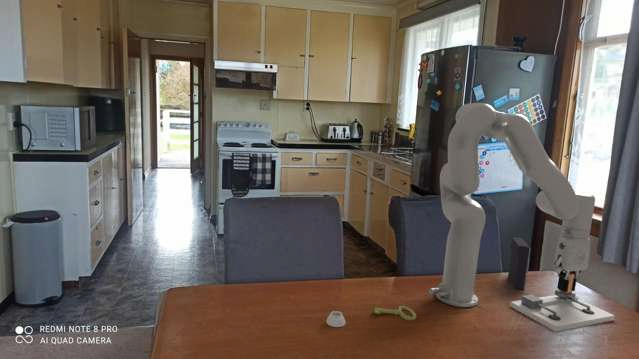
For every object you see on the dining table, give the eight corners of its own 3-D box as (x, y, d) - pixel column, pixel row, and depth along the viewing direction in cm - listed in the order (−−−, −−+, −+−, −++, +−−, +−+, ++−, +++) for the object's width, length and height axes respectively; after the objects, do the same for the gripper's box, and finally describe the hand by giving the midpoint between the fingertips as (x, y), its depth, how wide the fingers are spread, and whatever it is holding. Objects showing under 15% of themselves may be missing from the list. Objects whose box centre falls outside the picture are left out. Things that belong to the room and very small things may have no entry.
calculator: (526, 290, 151) (532, 247, 149) (512, 288, 152) (518, 245, 149) (518, 278, 162) (524, 238, 159) (506, 277, 163) (511, 236, 160)
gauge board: (555, 331, 123) (557, 317, 122) (510, 306, 137) (512, 293, 137) (613, 320, 132) (616, 307, 132) (565, 297, 147) (567, 286, 146)
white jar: (348, 327, 118) (340, 318, 123) (349, 316, 118) (341, 308, 122) (330, 329, 116) (323, 320, 121) (331, 318, 116) (324, 310, 120)
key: (370, 314, 127) (371, 307, 127) (407, 309, 132) (408, 302, 132) (384, 326, 121) (384, 318, 120) (422, 320, 126) (422, 313, 125)
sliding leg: (584, 311, 132) (589, 284, 131) (554, 296, 142) (558, 271, 140) (594, 309, 134) (598, 282, 132) (563, 295, 143) (567, 270, 142)
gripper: (567, 237, 131) (557, 297, 134) (604, 234, 137) (594, 292, 140) (545, 230, 137) (537, 287, 140) (582, 228, 144) (573, 282, 147)
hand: (565, 289), depth 140 cm, fingers closed on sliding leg, 2 cm apart
